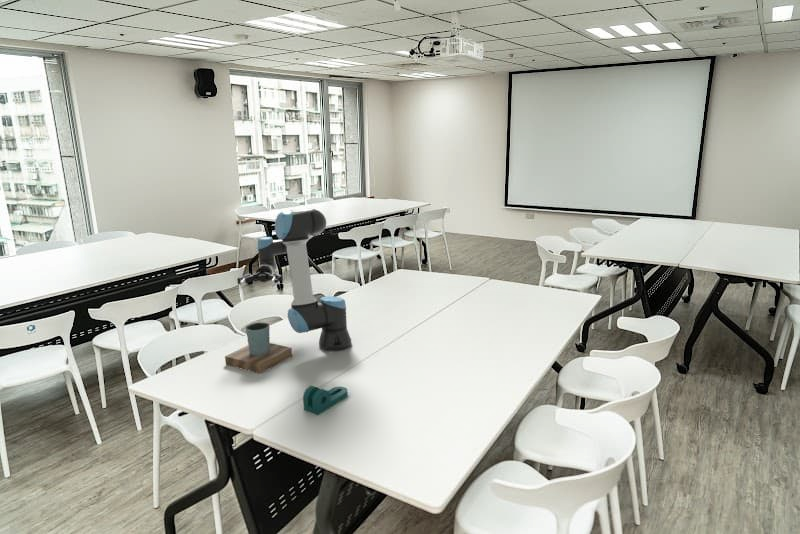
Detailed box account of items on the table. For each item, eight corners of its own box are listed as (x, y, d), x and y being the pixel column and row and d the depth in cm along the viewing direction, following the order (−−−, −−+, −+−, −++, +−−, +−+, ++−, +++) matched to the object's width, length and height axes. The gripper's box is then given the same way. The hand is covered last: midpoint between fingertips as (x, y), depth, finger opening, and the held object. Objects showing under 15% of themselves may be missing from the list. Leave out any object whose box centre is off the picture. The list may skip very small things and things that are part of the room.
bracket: (317, 415, 175) (316, 395, 173) (304, 410, 179) (302, 390, 177) (351, 394, 190) (350, 375, 188) (337, 390, 193) (336, 371, 191)
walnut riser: (292, 355, 226) (291, 347, 225) (260, 373, 209) (259, 364, 208) (259, 348, 235) (258, 340, 234) (225, 364, 218) (224, 356, 217)
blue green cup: (250, 358, 214) (247, 331, 211) (245, 350, 223) (243, 324, 220) (274, 353, 219) (271, 327, 216) (268, 345, 228) (266, 320, 225)
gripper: (291, 279, 247) (286, 290, 227) (239, 281, 245) (229, 293, 224) (289, 264, 246) (284, 274, 225) (237, 266, 243) (227, 277, 223)
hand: (257, 284), depth 225 cm, fingers open, 13 cm apart
